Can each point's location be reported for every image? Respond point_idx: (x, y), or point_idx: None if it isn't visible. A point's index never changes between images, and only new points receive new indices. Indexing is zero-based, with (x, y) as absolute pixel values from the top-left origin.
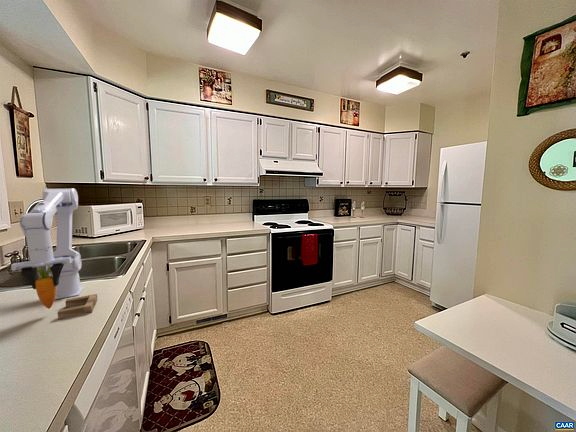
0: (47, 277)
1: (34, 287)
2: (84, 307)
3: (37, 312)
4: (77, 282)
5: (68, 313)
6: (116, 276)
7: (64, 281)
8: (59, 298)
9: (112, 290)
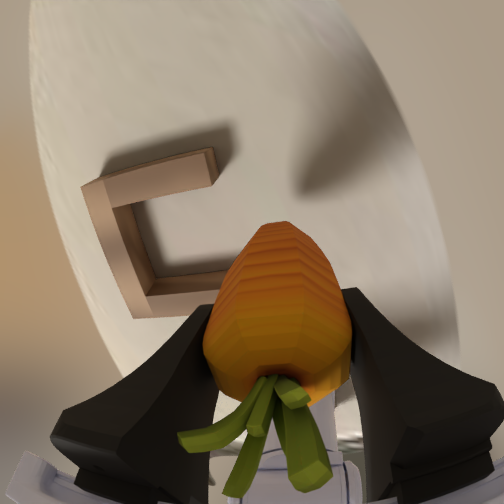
0: (243, 373)
1: (351, 295)
2: (101, 179)
3: (351, 266)
4: None
5: (165, 159)
6: None
7: None
8: None
9: (139, 360)
